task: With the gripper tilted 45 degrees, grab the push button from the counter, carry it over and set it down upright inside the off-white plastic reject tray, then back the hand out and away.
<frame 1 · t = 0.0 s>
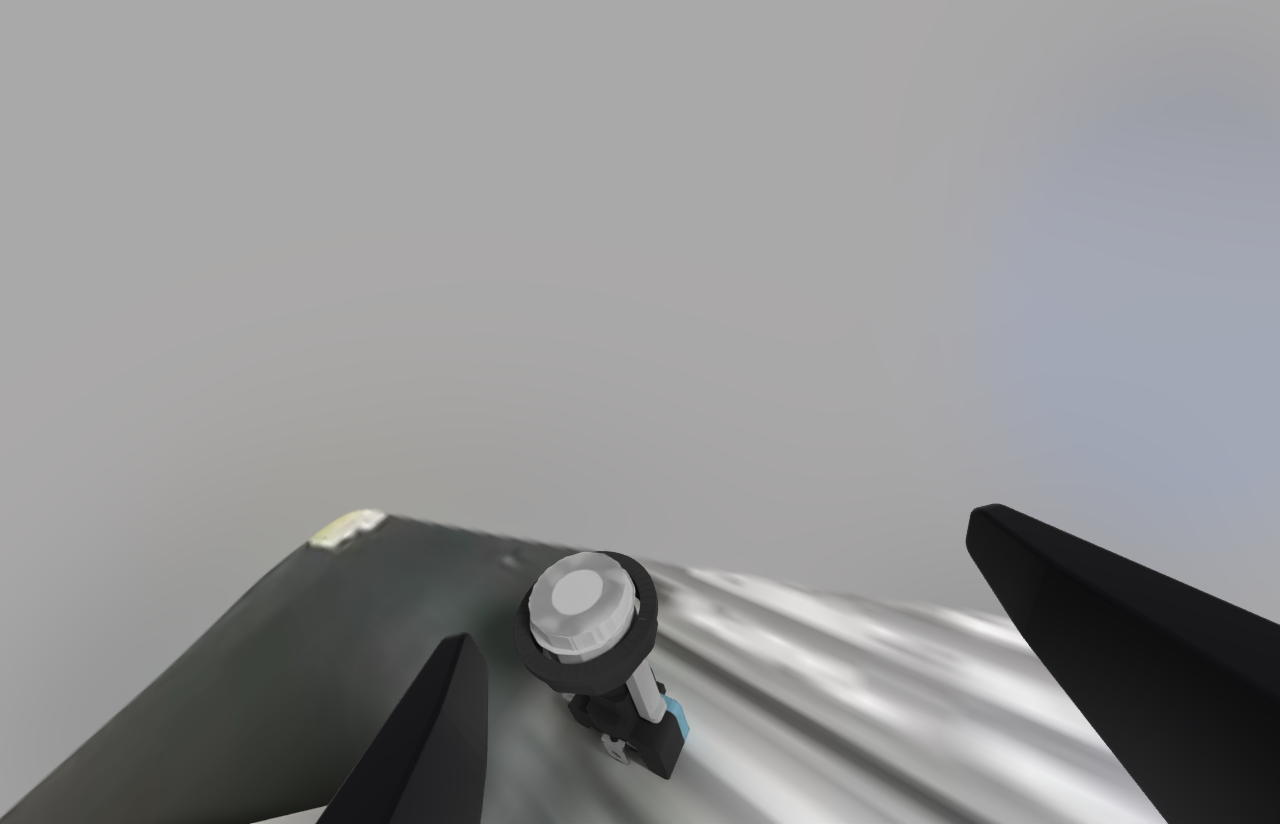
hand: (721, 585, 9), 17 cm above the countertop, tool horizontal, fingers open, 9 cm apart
push button: (626, 724, 23), on the countertop
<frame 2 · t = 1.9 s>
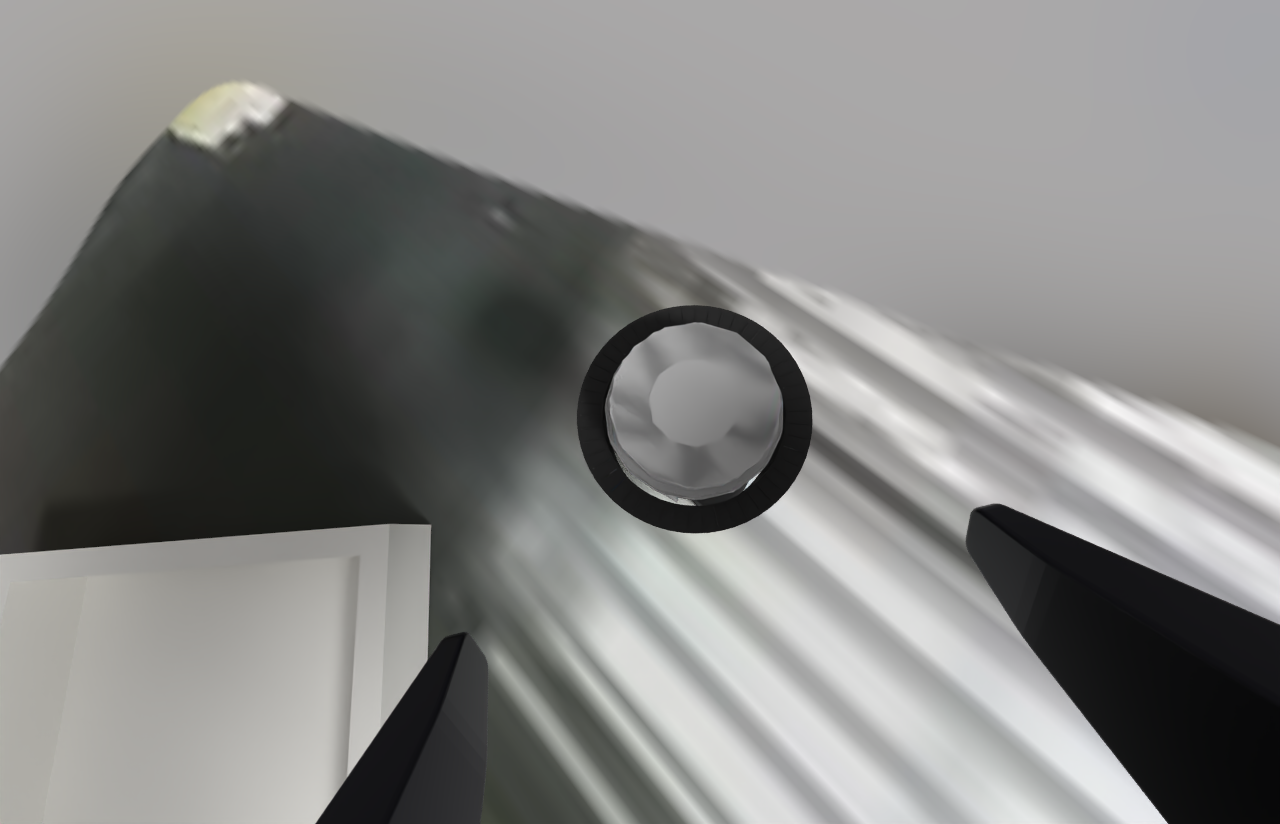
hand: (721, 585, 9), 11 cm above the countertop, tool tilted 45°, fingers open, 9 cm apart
push button: (670, 456, 20), on the countertop
reject tray: (233, 741, 19), on the countertop
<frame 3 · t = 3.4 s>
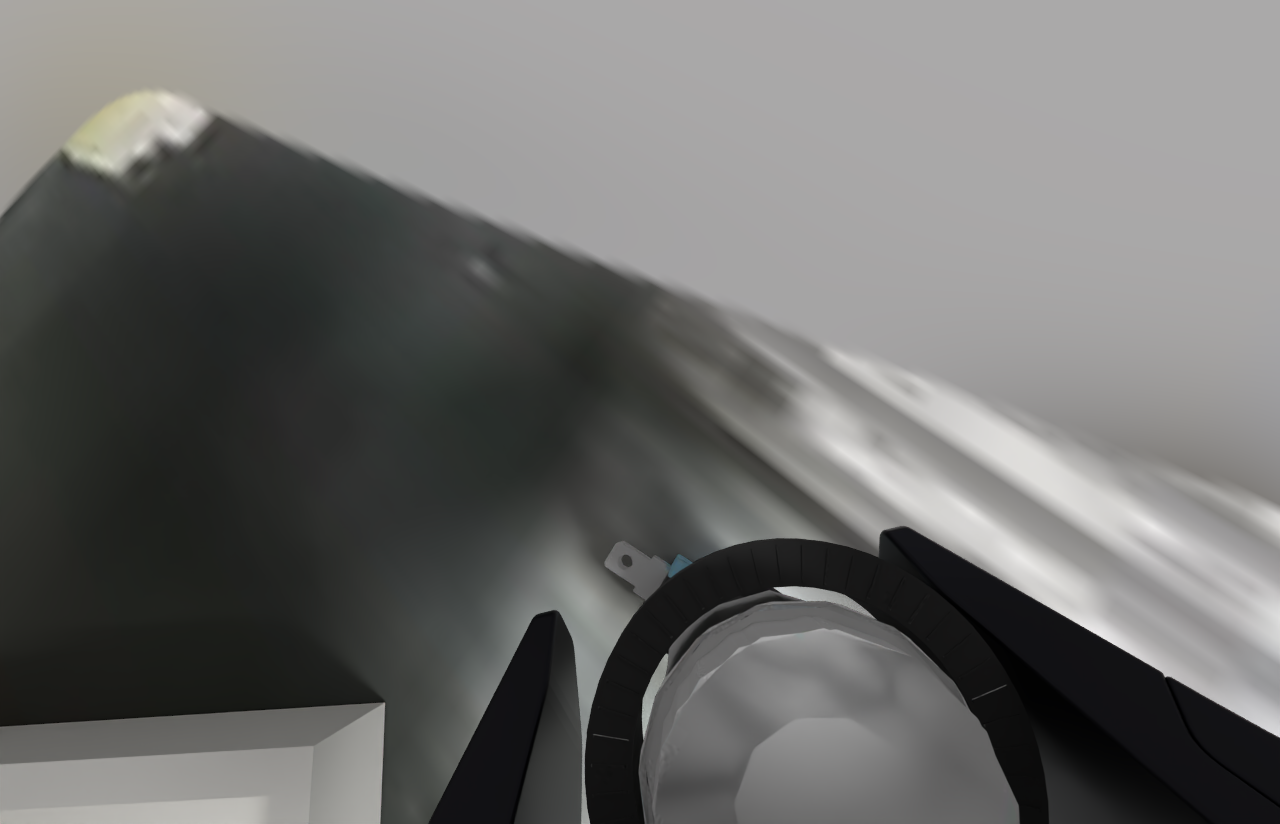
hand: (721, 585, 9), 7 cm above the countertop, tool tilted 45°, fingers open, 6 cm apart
push button: (711, 607, 15), on the countertop, touching gripper
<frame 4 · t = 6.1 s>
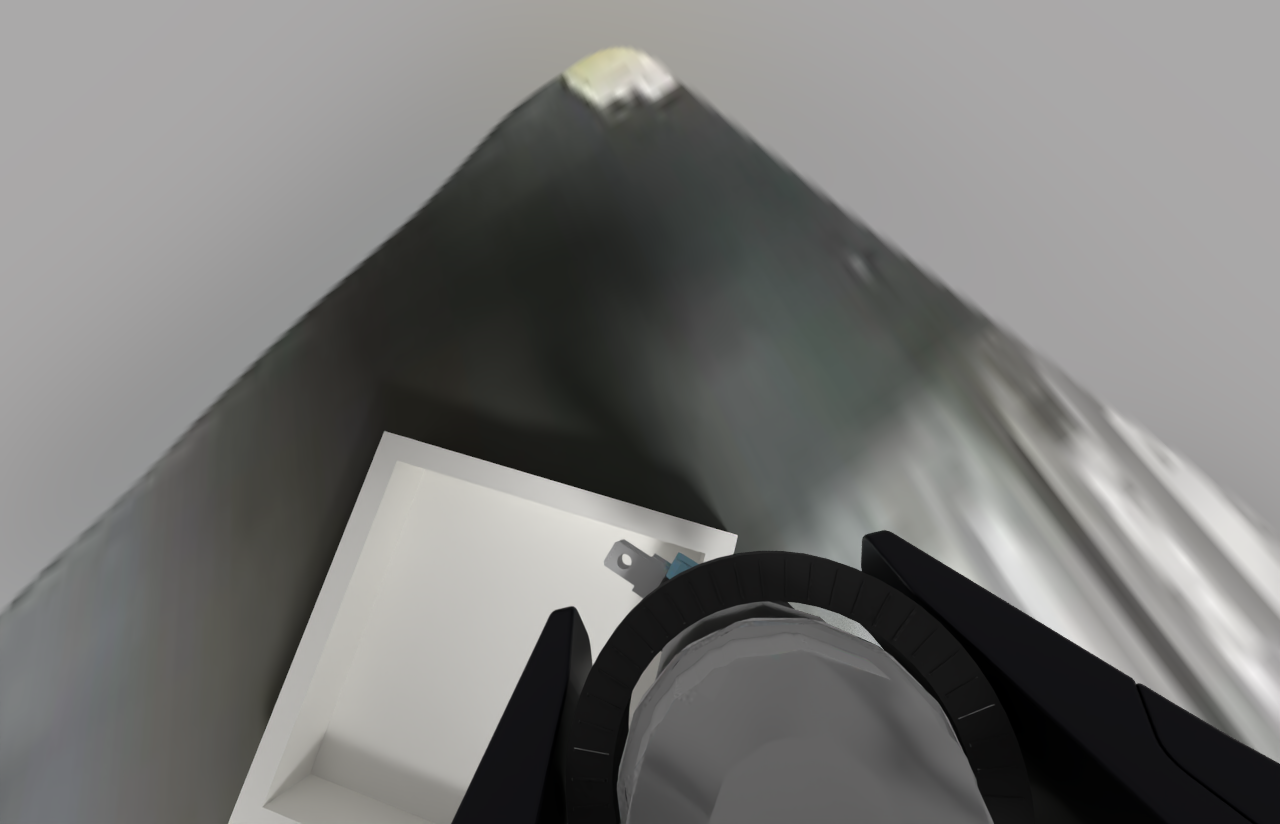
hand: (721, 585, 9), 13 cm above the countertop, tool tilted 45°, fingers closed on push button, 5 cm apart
push button: (712, 605, 15), point 7 cm above the countertop, touching gripper
reject tray: (514, 655, 21), on the countertop
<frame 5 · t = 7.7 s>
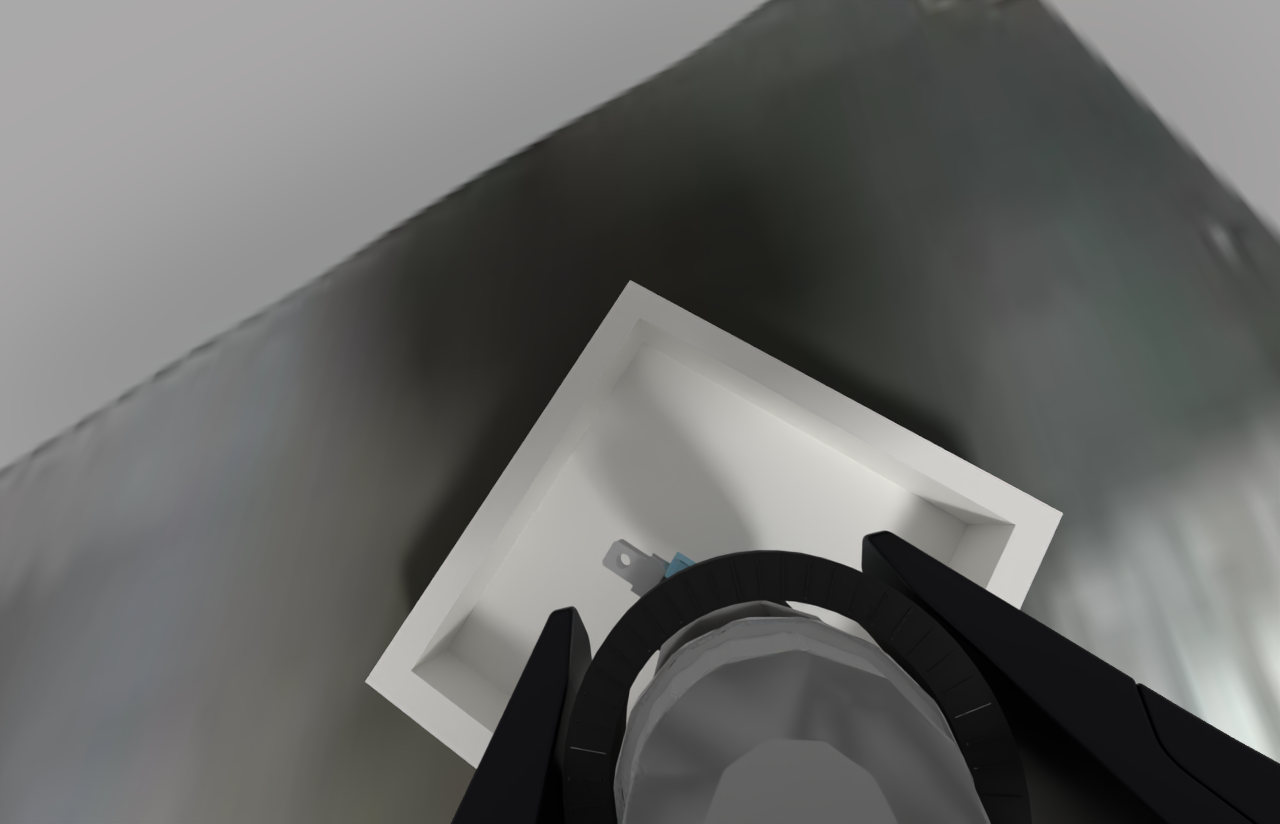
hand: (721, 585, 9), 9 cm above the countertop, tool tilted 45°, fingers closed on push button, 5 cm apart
push button: (710, 604, 15), point 3 cm above the countertop, touching gripper
reject tray: (704, 585, 17), on the countertop
when the fingers open (8 cm above the countertop, at t = 8.7 s): push button drops 1 cm, resting on reject tray.
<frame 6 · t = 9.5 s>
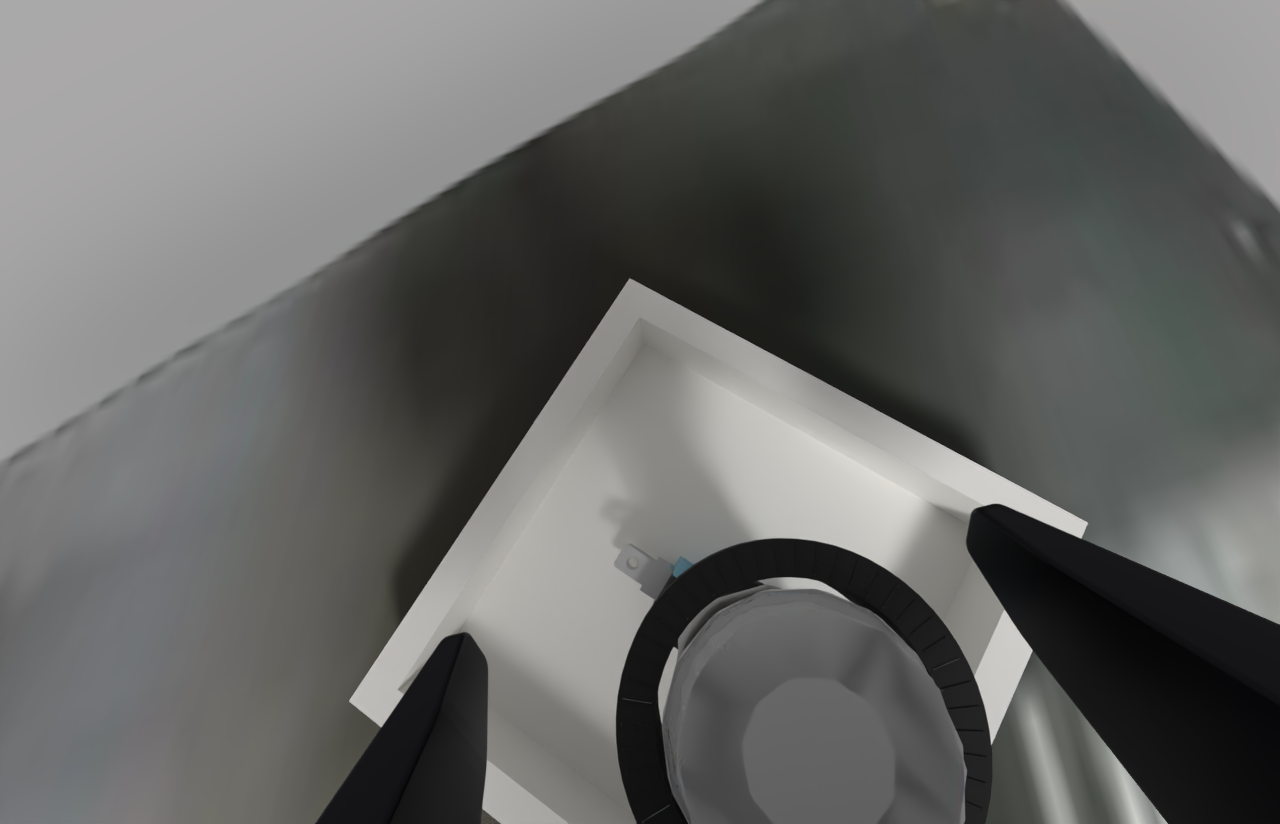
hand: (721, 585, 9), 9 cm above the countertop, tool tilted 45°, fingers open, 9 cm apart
push button: (710, 605, 16), resting on reject tray
reject tray: (707, 597, 17), on the countertop
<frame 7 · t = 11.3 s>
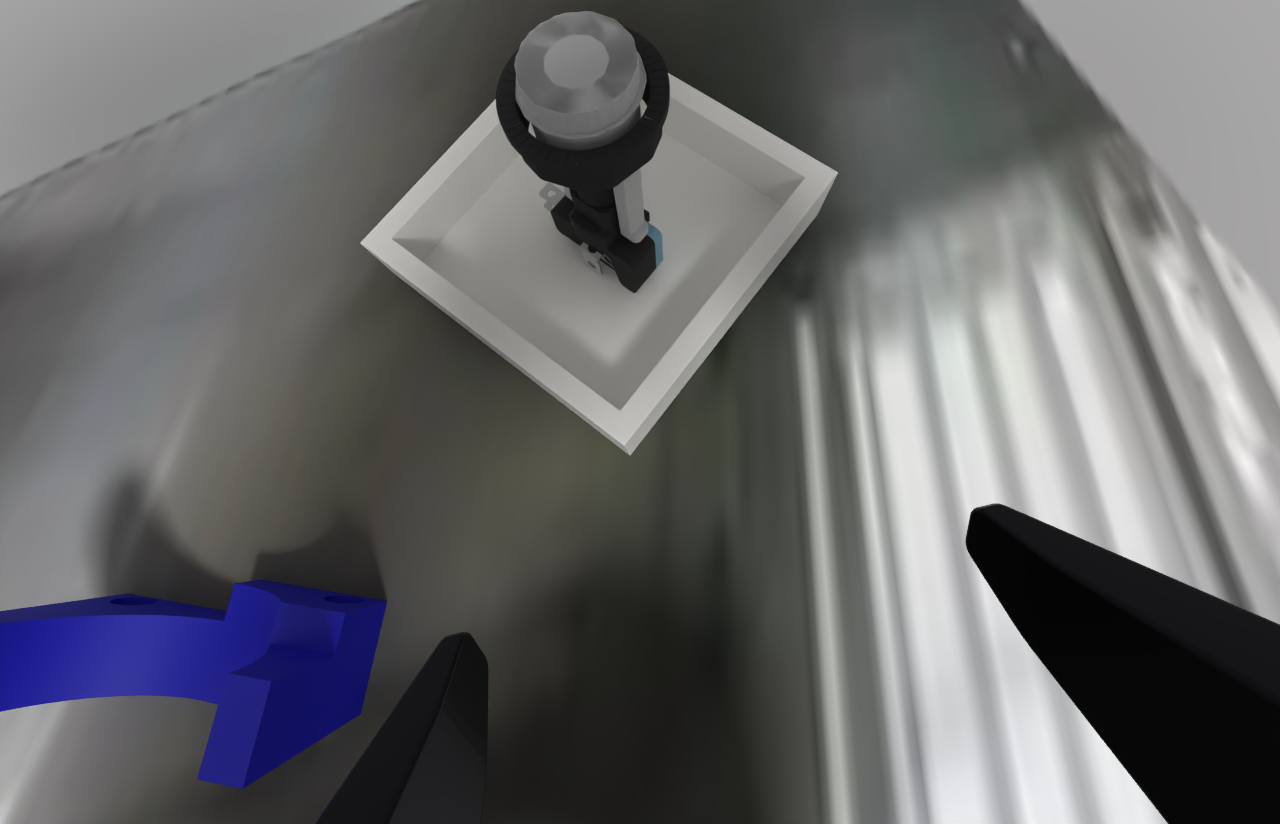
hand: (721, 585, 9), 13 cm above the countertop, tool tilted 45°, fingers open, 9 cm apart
cable clip: (252, 631, 22), on the countertop
push button: (604, 244, 24), resting on reject tray
reject tray: (604, 245, 24), on the countertop
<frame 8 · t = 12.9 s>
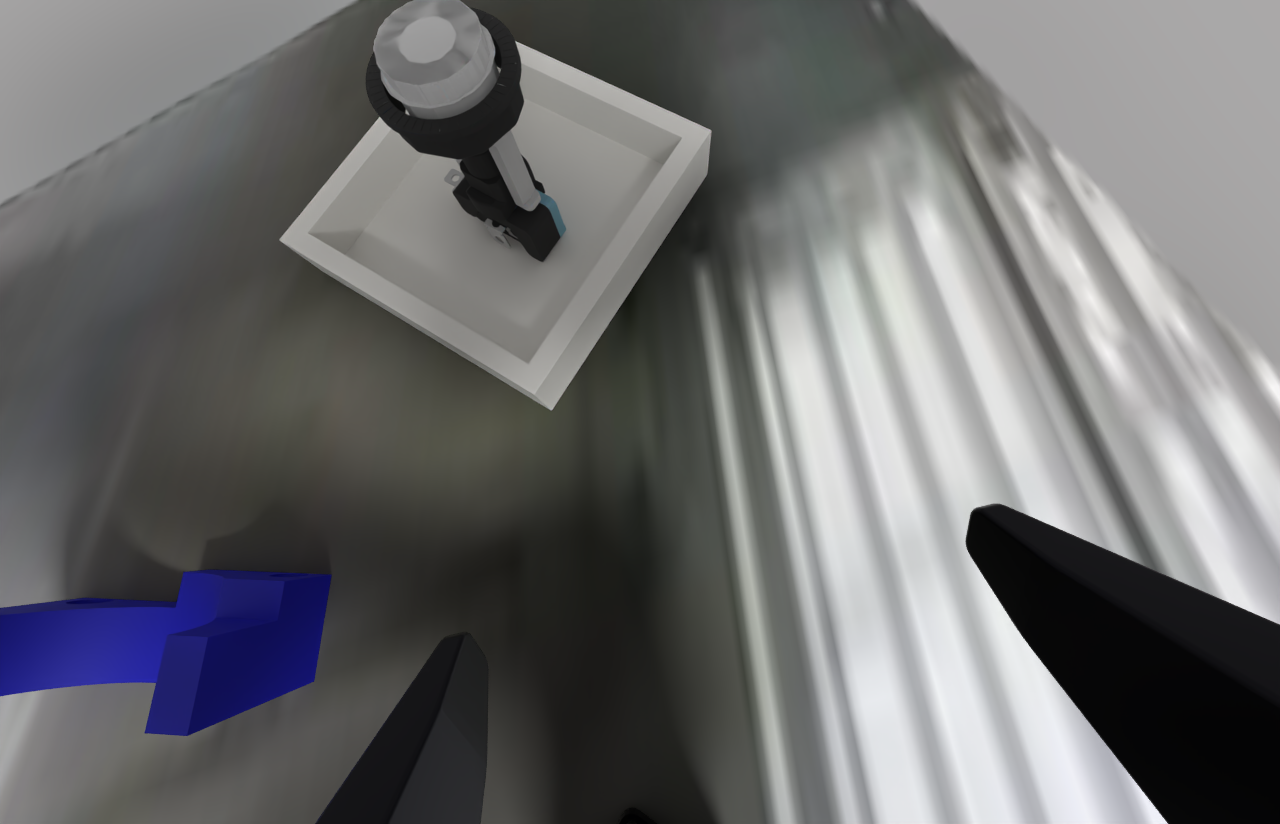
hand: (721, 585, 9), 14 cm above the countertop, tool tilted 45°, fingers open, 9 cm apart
cable clip: (207, 618, 23), on the countertop
push button: (512, 222, 26), resting on reject tray
reject tray: (514, 223, 26), on the countertop
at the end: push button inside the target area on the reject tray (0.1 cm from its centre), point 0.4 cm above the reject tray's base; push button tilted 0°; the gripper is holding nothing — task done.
